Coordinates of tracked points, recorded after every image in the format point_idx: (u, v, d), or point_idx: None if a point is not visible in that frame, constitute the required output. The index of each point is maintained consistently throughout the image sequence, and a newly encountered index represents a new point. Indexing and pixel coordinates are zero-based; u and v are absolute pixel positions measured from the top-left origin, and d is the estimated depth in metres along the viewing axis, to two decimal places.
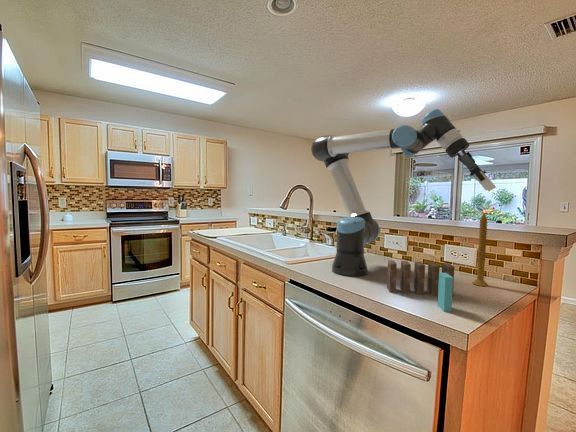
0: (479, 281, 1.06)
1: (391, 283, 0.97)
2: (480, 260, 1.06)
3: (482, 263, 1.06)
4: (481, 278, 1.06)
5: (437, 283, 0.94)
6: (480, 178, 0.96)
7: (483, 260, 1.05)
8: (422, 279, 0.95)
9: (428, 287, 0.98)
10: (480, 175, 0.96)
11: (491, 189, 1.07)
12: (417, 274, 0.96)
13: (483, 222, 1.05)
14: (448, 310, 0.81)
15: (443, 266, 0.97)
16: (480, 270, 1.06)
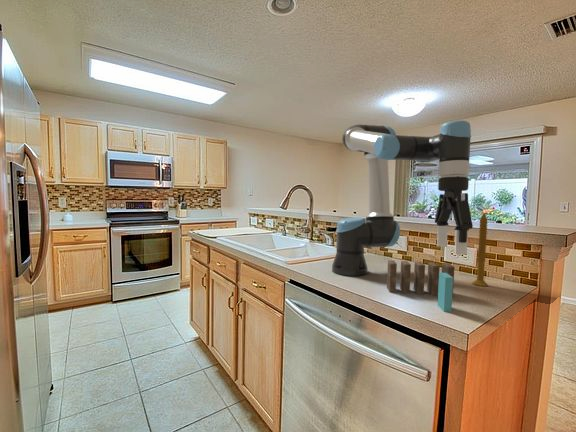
0: (479, 281, 1.06)
1: (391, 283, 0.97)
2: (480, 260, 1.06)
3: (482, 263, 1.06)
4: (481, 278, 1.06)
5: (437, 283, 0.94)
6: (462, 239, 0.74)
7: (483, 260, 1.05)
8: (422, 279, 0.95)
9: (428, 287, 0.98)
10: (465, 236, 0.74)
11: (441, 246, 0.89)
12: (417, 274, 0.96)
13: (483, 222, 1.05)
14: (448, 310, 0.81)
15: (443, 266, 0.97)
16: (480, 270, 1.06)
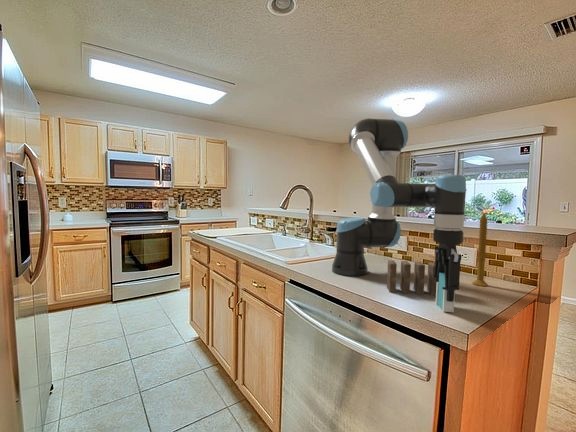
0: (479, 281, 1.06)
1: (391, 283, 0.97)
2: (480, 260, 1.06)
3: (482, 263, 1.06)
4: (481, 278, 1.06)
5: None
6: (449, 298, 0.79)
7: (483, 260, 1.05)
8: (422, 279, 0.95)
9: (428, 287, 0.98)
10: (452, 295, 0.79)
11: None
12: (417, 274, 0.96)
13: (483, 222, 1.05)
14: None
15: None
16: (480, 270, 1.06)
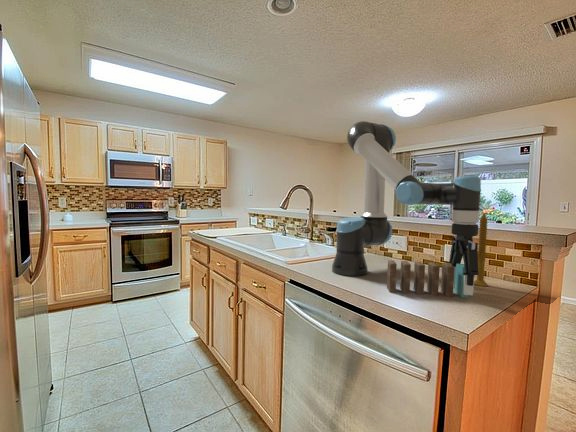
0: (479, 281, 1.06)
1: (391, 283, 0.97)
2: (480, 260, 1.06)
3: (482, 263, 1.06)
4: (481, 278, 1.06)
5: (437, 283, 0.94)
6: (469, 283, 0.89)
7: (483, 260, 1.05)
8: (422, 279, 0.95)
9: (428, 287, 0.98)
10: (471, 280, 0.89)
11: None
12: (417, 274, 0.96)
13: (483, 222, 1.05)
14: (465, 296, 0.93)
15: (443, 266, 0.97)
16: (480, 270, 1.06)
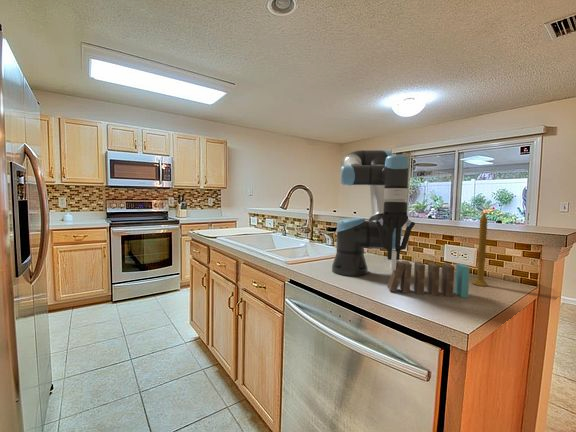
0: (479, 281, 1.06)
1: (394, 282, 0.96)
2: (480, 260, 1.06)
3: (482, 263, 1.06)
4: (481, 278, 1.06)
5: (437, 283, 0.94)
6: (387, 256, 0.99)
7: (483, 260, 1.05)
8: (422, 279, 0.95)
9: (428, 287, 0.98)
10: (387, 254, 0.98)
11: None
12: (417, 274, 0.96)
13: (483, 222, 1.05)
14: (465, 296, 0.93)
15: (443, 266, 0.97)
16: (480, 270, 1.06)
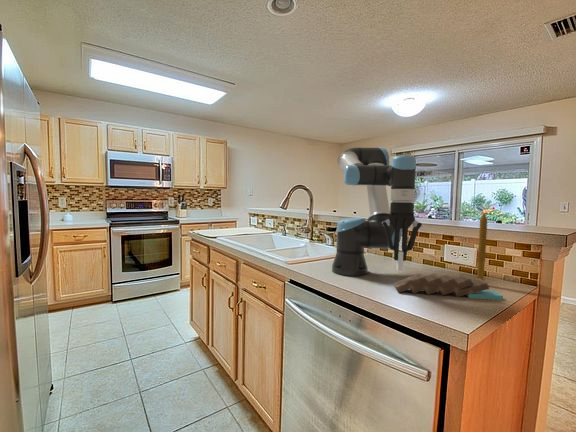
0: None
1: (405, 285, 0.96)
2: (480, 260, 1.06)
3: (482, 263, 1.06)
4: (481, 278, 1.06)
5: (454, 289, 0.93)
6: (394, 257, 0.99)
7: (483, 260, 1.05)
8: (441, 287, 0.94)
9: None
10: (394, 255, 0.98)
11: None
12: (442, 281, 0.95)
13: (483, 222, 1.05)
14: (470, 297, 0.93)
15: (478, 280, 0.95)
16: (480, 270, 1.06)
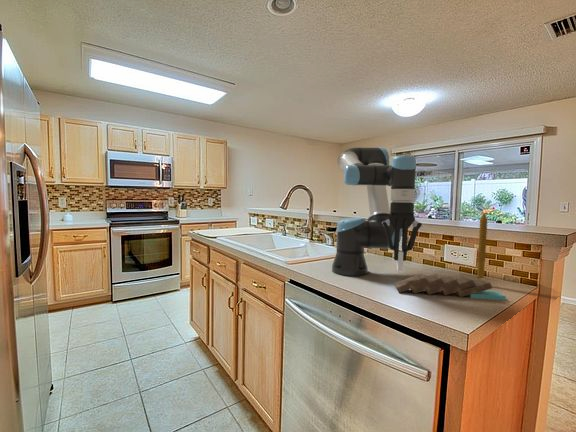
0: None
1: (406, 285, 0.96)
2: (480, 260, 1.06)
3: (482, 263, 1.06)
4: None
5: (456, 290, 0.93)
6: (394, 257, 0.99)
7: (483, 260, 1.05)
8: (443, 288, 0.94)
9: None
10: (394, 255, 0.98)
11: None
12: (444, 281, 0.95)
13: (483, 222, 1.05)
14: (472, 297, 0.93)
15: (481, 279, 0.95)
16: (480, 270, 1.06)
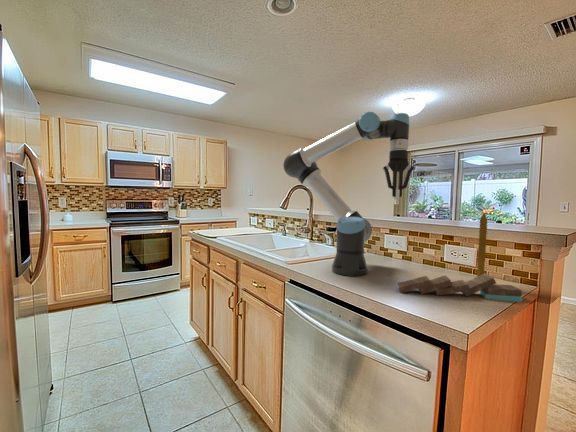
0: None
1: (409, 286, 0.95)
2: (480, 260, 1.06)
3: (482, 263, 1.06)
4: None
5: (478, 290, 0.93)
6: (392, 194, 1.26)
7: (483, 260, 1.05)
8: (453, 291, 0.93)
9: None
10: (392, 192, 1.25)
11: None
12: (455, 285, 0.94)
13: (483, 222, 1.05)
14: (487, 298, 0.92)
15: (510, 286, 0.94)
16: (480, 270, 1.06)
